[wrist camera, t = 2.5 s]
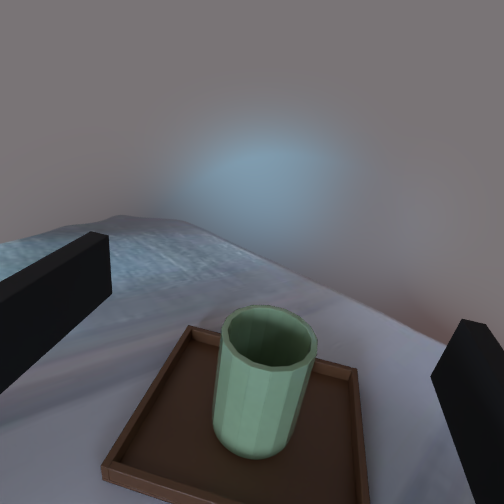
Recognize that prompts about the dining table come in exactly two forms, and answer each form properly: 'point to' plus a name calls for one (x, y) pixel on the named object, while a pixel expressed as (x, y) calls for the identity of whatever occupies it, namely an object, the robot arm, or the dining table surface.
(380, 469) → the dining table surface
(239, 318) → the cup
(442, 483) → the dining table surface
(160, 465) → the tray
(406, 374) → the dining table surface
